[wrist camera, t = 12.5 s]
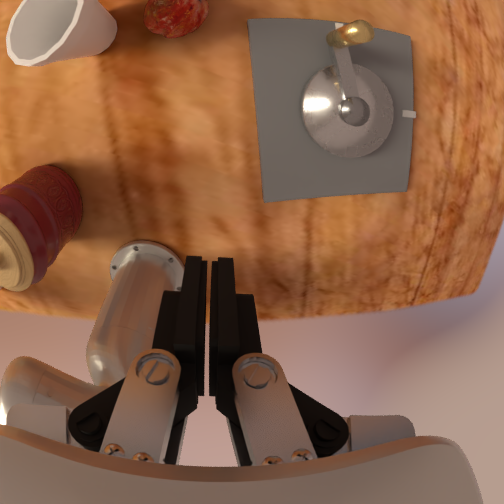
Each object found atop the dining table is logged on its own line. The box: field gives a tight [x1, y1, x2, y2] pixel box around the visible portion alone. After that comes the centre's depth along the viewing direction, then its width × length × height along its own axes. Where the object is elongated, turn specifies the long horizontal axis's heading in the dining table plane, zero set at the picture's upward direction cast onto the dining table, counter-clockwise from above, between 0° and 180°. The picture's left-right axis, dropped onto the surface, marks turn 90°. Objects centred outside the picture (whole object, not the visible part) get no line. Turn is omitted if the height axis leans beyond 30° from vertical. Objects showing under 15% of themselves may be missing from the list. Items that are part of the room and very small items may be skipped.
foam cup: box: [6, 0, 117, 66], centre depth 17 cm, size 10×9×13 cm
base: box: [247, 18, 416, 203], centre depth 31 cm, size 24×22×2 cm
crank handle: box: [299, 20, 394, 158], centre depth 25 cm, size 16×12×9 cm
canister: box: [0, 165, 83, 291], centre depth 26 cm, size 13×13×18 cm
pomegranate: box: [144, 0, 209, 38], centre depth 20 cm, size 7×7×10 cm
